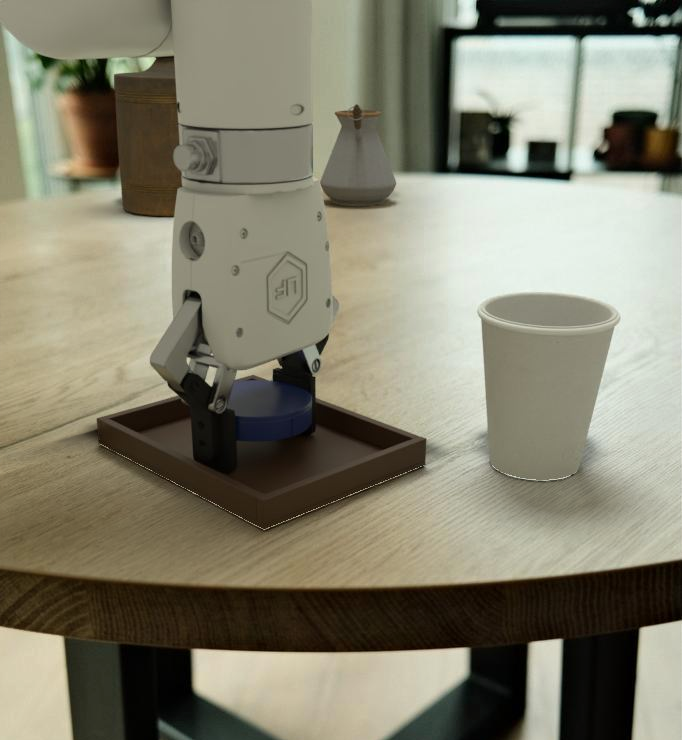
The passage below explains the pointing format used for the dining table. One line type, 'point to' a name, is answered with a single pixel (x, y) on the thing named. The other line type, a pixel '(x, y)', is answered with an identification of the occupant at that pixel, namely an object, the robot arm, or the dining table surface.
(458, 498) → the dining table surface
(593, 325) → the dixie cup
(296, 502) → the tray
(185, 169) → the robot arm
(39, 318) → the dining table surface
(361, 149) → the coffee pot
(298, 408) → the lid
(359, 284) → the dining table surface
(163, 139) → the wooden container
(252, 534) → the dining table surface
